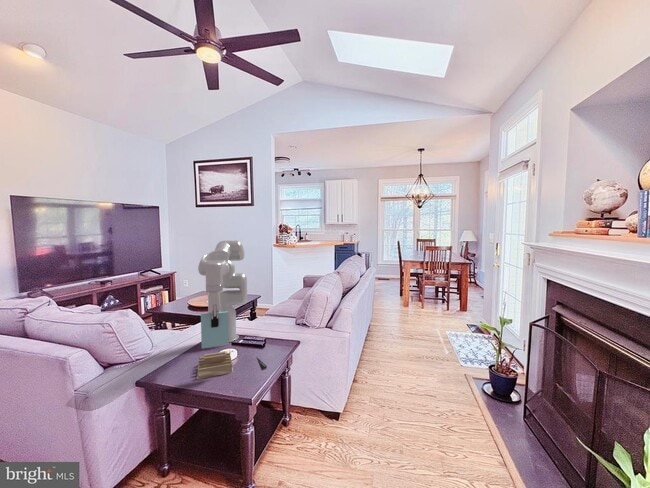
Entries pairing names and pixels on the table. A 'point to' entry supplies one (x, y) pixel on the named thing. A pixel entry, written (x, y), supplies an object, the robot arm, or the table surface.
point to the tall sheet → (214, 330)
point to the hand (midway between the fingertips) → (214, 326)
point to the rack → (214, 368)
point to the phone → (261, 364)
